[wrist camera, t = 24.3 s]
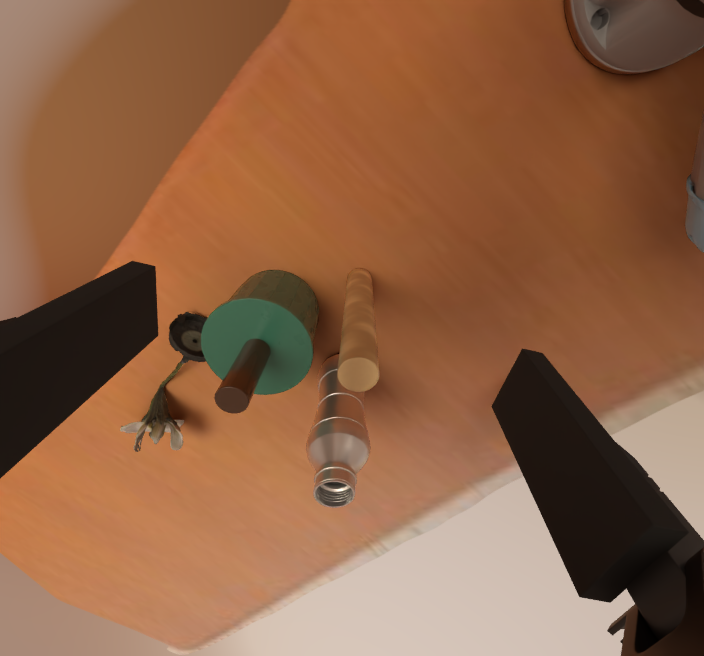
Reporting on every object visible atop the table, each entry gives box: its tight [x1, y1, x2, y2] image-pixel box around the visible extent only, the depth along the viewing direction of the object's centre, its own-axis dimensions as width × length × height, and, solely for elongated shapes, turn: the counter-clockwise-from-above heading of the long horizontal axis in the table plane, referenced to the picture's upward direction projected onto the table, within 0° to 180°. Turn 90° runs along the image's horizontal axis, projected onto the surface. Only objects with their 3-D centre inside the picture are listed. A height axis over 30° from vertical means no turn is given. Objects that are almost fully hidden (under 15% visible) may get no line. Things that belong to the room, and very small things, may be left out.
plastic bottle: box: [306, 354, 370, 508], centre depth 40 cm, size 6×7×20 cm
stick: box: [337, 268, 379, 392], centre depth 34 cm, size 3×3×20 cm
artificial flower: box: [120, 312, 207, 452], centre depth 47 cm, size 9×22×10 cm, turn 142°
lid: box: [201, 296, 313, 413], centre depth 33 cm, size 11×11×9 cm
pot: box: [228, 270, 319, 342], centre depth 41 cm, size 10×10×10 cm
